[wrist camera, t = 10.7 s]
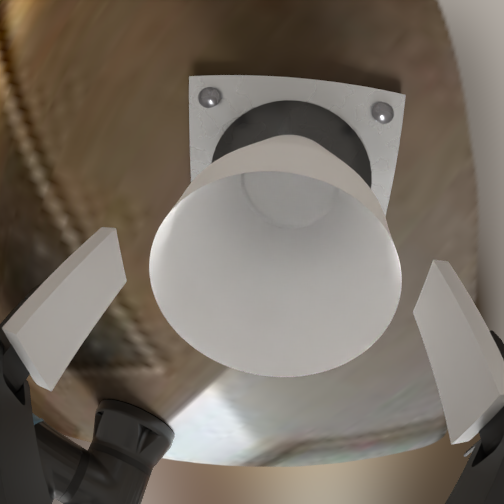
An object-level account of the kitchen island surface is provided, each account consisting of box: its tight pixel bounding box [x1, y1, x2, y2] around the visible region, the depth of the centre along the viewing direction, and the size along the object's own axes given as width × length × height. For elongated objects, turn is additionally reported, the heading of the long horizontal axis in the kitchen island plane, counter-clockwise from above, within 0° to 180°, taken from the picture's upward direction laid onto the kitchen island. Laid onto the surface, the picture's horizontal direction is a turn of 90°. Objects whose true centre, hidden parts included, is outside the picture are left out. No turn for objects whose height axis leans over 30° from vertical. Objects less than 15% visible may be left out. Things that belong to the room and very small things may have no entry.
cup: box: [149, 135, 402, 377], centre depth 15 cm, size 9×9×12 cm
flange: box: [189, 75, 406, 216], centre depth 21 cm, size 14×14×2 cm
